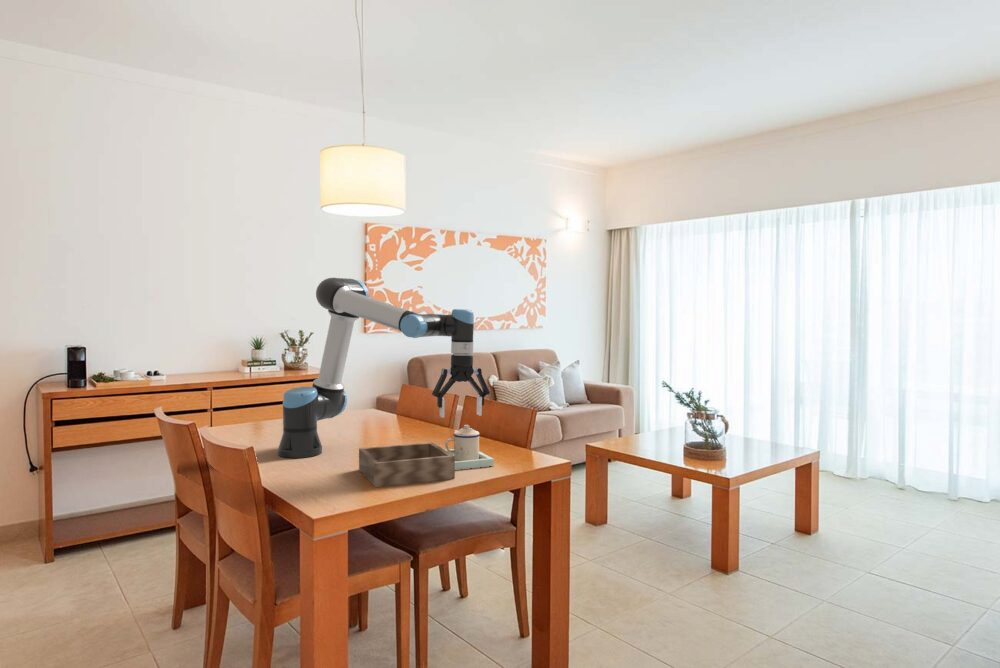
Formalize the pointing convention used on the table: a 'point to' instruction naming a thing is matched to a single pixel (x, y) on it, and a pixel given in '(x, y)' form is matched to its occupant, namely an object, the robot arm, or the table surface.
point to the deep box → (406, 464)
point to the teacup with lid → (465, 444)
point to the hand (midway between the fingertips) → (460, 416)
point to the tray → (474, 462)
